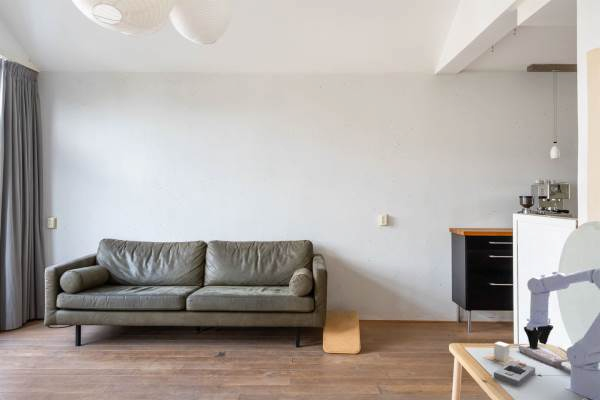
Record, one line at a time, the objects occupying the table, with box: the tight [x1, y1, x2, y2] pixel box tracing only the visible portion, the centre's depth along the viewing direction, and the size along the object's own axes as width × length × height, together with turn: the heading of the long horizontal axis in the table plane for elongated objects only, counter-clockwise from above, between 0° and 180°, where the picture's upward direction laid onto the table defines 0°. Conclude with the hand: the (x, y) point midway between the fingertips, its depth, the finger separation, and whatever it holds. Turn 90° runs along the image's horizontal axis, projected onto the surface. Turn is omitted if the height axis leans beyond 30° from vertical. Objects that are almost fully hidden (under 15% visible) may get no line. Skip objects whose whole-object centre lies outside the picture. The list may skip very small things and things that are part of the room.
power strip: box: [493, 360, 536, 388], centre depth 137 cm, size 16×8×4 cm, turn 130°
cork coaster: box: [483, 352, 520, 366], centre depth 151 cm, size 10×10×1 cm
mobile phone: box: [518, 343, 570, 367], centre depth 152 cm, size 6×6×25 cm
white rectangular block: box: [493, 341, 510, 362], centre depth 151 cm, size 4×4×6 cm
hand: (538, 345), depth 143 cm, fingers open, 7 cm apart
